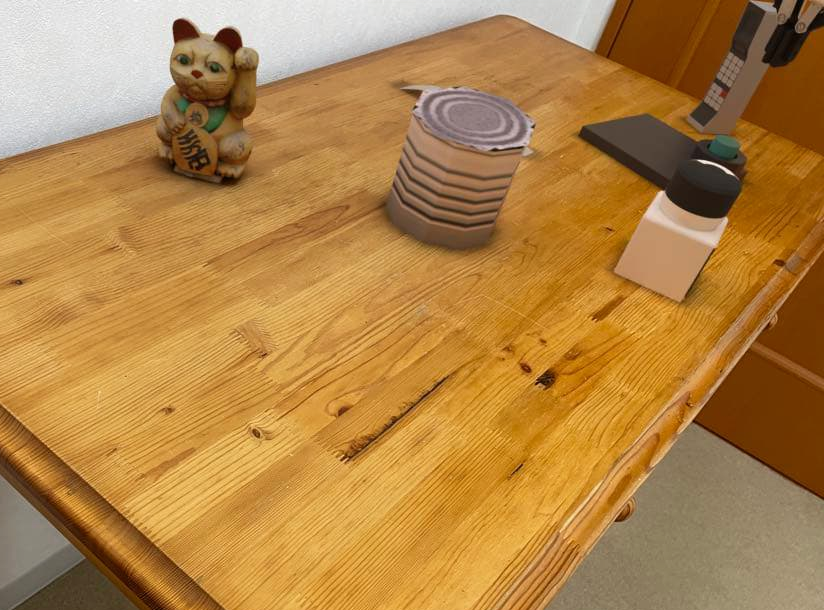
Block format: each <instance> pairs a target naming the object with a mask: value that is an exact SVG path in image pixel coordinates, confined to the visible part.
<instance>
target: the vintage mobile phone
mask: <svg viewBox="0 0 824 610" xmlns="http://www.w3.org/2000/svg"><path fill="white" fill-rule="evenodd" d="M776 17H777V11H776V6H775V2H768V1H758V0H748V1H747V3H746V5H745V8H744V9H743V12H742V14H741V16H740V18H739V21H738V23H737V25H736V28H735V30H734V32H733V34H732V36H731V40H730V48H729V49H728V51H727V53H726V55H725V57H724V58H723V60H722V62H721V64H720V66H719V68H718V70H717V72H716V73H715V75H714V78H713V80H711V83H710V85H709V87H708V89H707V90H706V92H705V95H704V97H703V98H702V100H701V102H700V103H699V104H698V105H697V106H696V107H695V108H694V109H693V110H692V111H691V112H690V113H689V114H688V116H687V117H686V120H685V121H686V122H687V123H688V124H690V125H691V126H692V127H693V128H695V129H696V130H697V131H698V132H699V133H700V134H712V135H725V136H728V135H729V136H730V135H731V133H732V132H733V131H734V129H735V127H736V125H737V123H738V122H739V119H740V118H741V116H742V114H743V113H744V111H745V109H746V107H747V106H748V104H749V102H750V100H751V98H752V97H753V95H754V94H755V91H756V89H757V88H758V86H759V84H760V82H761V81H762V79H763V77H764V76H765V74H766V72H767V70H768V68H769V67H770V64H769V63H768V64H765V63H763V62H761V60H762V58H763V56H764V55H765V53H766V52H765V51H764V49H765V47H766V45H767V43H768V41H769V39H770V38H771V36H772V34H773V32H774V30H775V29H776V27H777V25H778V24H777V22H776Z"/></svg>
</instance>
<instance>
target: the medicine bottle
mask: <svg viewBox="0 0 824 610" xmlns="http://www.w3.org/2000/svg"><path fill="white" fill-rule="evenodd" d="M742 191H743V185H742V182H740V180H739V179H738V178H737V177H736V176H735V175H734V174H733V173H732V172H731V171H729V170H728V169H726V168H725V167H723V166H721V165H718V164H716V163H713V162H709V161H705V160H687V161H684V162H682V163H680V164H679V165H678V167H677V169H676V171H675V172H674V174H673V176H672V178H671V180H670V182H669V184H668V185H667V187H666V189H665V191H664V190H660V191H658V192H657V193H656V195H655V197H654V198H653V200H652V201H651V203H650V204H649V206H648V208H647V209H646V211H645V212H644V213H643V215H642V217H641V219H640V221H639V223H638V225H637V227H636V229H635V230H634V233H633V234H632V235H631V238H630V240H629V242H628V243H627V245H626V247H625V249H624V251H623V253H622V255H621V257H620V259H619V261H618V262H617V265H616V266H615V268H614V270H613V272H614V274H616V275H618V276H620V277H623V278H625V279H626V280H629V281H631V282H634V283H636V284H638V285H640V286H642V287H645V288H647V289H649V290H651V291H653V292H656V293H658V294H660V295H663V296H665V297H667V298H669V299H672V300H674V301H676V302H678V303H683V302H684V301H685V299H686V297H687V296H688V294H689V293H690V291H691V290H692V288H693V286H694V285H695V283H696V281H697V280H698V278H699V276H701V273H702V272H703V270H704V268H706V266H707V263H708V262H709V260H710V258H711V257H712V256H713V254H714V252H715V251H716V249H717V247H718V245H719V244H720V240H721V239H722V236H723V234H724V231H725V229H726V227H727V225H728V222H729V218H728V217H727V216H728V214H729V213H730V211H731V209H732V208H733V206H734V205H735V203H736V201H737V200H738V198H739V196H740V194H741V192H742Z"/></svg>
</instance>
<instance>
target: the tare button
mask: <svg viewBox="0 0 824 610" xmlns="http://www.w3.org/2000/svg"><path fill="white" fill-rule="evenodd" d="M712 140H713V141H712V143H711V145H710V147H709V148H708V149H709V150H710V151H711V152H712V153H714V154H716V155H718V156H721V157H724V158H727V159H734V157H735V156H736V154H737V152H738V150H740V149H741V147H742V144H741V142H739V141H738V140H737V139H735V138H733V137H731V136H728V135H725V134H715V136H714V138H713V139H712Z"/></svg>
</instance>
